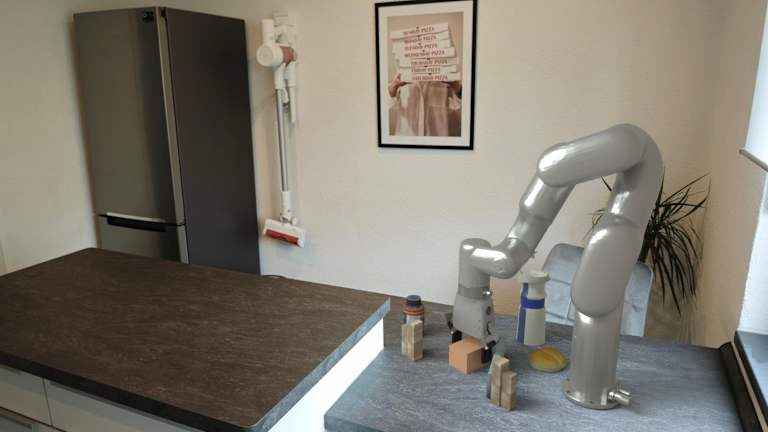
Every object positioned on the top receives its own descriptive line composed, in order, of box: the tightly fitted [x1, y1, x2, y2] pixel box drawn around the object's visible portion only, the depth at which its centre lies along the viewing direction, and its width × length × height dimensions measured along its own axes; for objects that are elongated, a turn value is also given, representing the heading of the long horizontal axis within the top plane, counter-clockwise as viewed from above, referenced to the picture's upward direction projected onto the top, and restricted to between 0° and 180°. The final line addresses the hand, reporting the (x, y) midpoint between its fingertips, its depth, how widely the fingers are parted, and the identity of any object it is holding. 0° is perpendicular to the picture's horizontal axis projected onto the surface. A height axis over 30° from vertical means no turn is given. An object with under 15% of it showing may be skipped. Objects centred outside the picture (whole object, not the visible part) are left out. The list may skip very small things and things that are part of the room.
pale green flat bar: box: [485, 332, 507, 399], centre depth 128 cm, size 23×2×5 cm, turn 161°
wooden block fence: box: [401, 319, 518, 412], centre depth 126 cm, size 34×3×10 cm, turn 41°
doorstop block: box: [448, 336, 490, 375], centre depth 133 cm, size 6×8×6 cm
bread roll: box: [528, 346, 568, 373], centre depth 133 cm, size 8×9×4 cm
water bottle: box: [515, 251, 551, 347], centre depth 144 cm, size 8×9×25 cm
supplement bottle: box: [402, 294, 425, 337], centre depth 149 cm, size 6×6×11 cm
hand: (471, 354), depth 133 cm, fingers open, 9 cm apart
